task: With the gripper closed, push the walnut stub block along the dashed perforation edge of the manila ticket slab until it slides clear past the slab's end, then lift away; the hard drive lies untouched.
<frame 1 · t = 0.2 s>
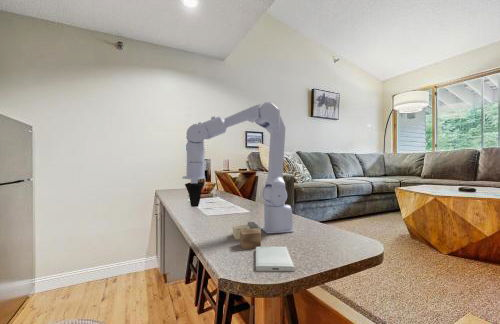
hand: (195, 204, 75), 10 cm above the countertop, tool pointing down, fingers open, 7 cm apart
hard drive: (273, 262, 54), on the countertop
stub block: (250, 246, 64), on the countertop
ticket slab: (246, 236, 74), on the countertop
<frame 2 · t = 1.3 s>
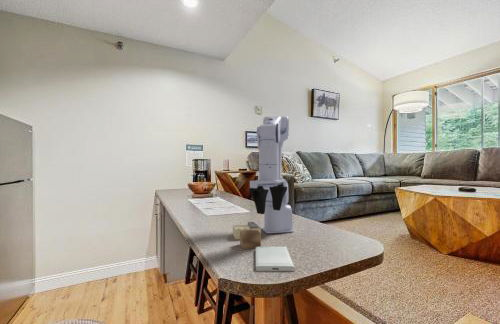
hand: (269, 211, 67), 9 cm above the countertop, tool pointing down, fingers open, 7 cm apart
nothing on the countertop moved.
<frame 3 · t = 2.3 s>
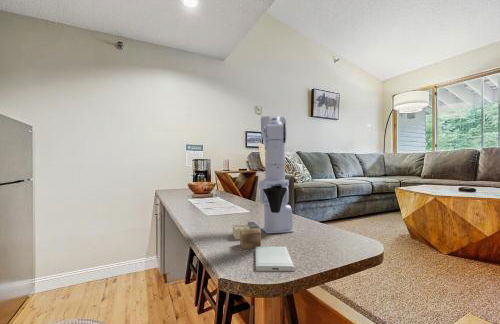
hand: (275, 212, 66), 9 cm above the countertop, tool pointing down, fingers closed
nothing on the countertop moved.
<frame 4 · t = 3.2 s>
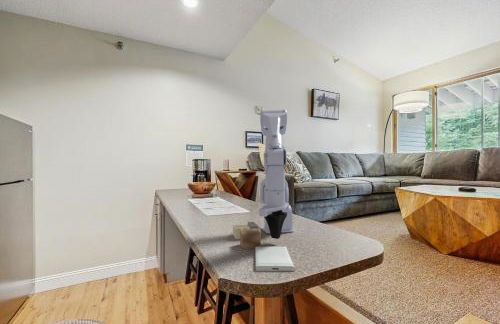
hand: (275, 237, 66), 2 cm above the countertop, tool pointing down, fingers closed
nothing on the countertop moved.
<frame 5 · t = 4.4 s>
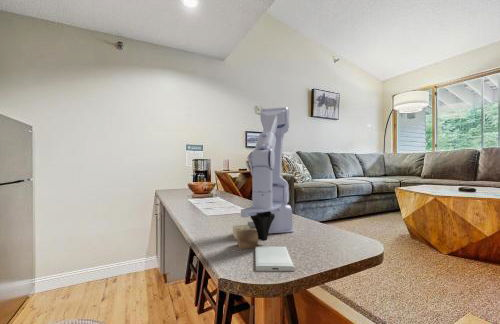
hand: (262, 239, 65), 1 cm above the countertop, tool pointing down, fingers closed
stub block: (247, 245, 64), on the countertop, touching gripper
everything else where it was.
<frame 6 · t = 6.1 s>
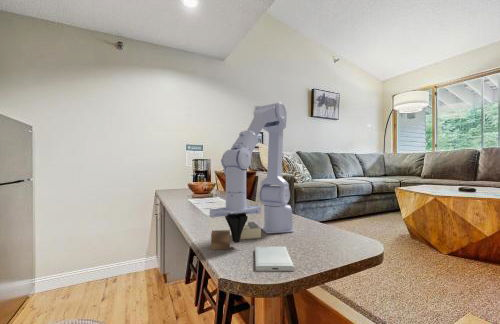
hand: (236, 241, 64), 1 cm above the countertop, tool pointing down, fingers closed
stub block: (220, 246, 64), on the countertop, touching gripper
everything else where it was.
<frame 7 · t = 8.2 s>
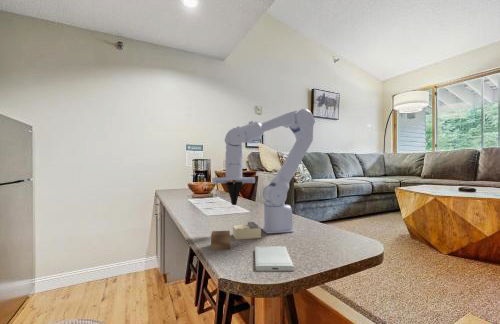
hand: (233, 204, 78), 9 cm above the countertop, tool pointing down, fingers closed
stub block: (220, 247, 64), on the countertop
everything else where it was.
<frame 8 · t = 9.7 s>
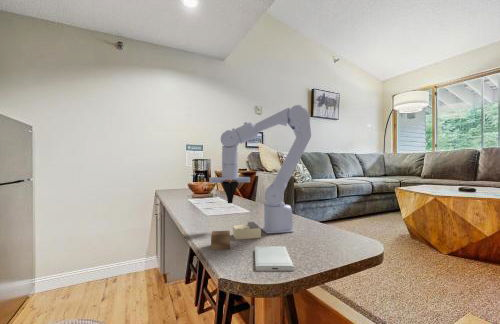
hand: (229, 203, 83), 9 cm above the countertop, tool pointing down, fingers closed
nothing on the countertop moved.
at the end: stub block inside the target area (1.1 cm from its centre), on the countertop; stub block moved 8.2 cm from its start; stub block touching countertop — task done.
